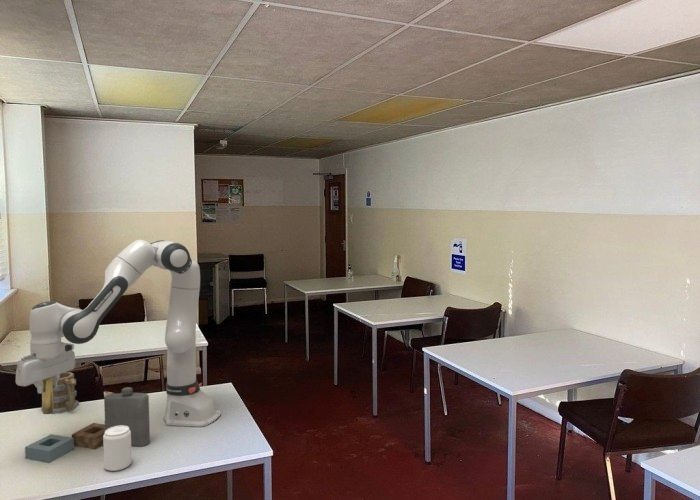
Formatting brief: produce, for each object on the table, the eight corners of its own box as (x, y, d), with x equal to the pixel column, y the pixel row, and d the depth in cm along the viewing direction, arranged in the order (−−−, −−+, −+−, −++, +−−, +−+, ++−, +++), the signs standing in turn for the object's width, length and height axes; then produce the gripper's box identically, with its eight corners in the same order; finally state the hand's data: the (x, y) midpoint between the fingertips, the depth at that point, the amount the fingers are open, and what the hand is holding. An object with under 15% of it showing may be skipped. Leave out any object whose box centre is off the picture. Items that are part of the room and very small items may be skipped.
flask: (152, 439, 178) (151, 385, 177) (146, 446, 172) (145, 391, 171) (110, 440, 177) (108, 386, 176) (103, 447, 171) (101, 392, 170)
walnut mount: (116, 436, 180) (115, 426, 180) (94, 449, 170) (94, 438, 170) (94, 433, 183) (93, 422, 182) (71, 445, 173) (71, 434, 173)
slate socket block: (74, 449, 170) (73, 437, 170) (49, 462, 161) (48, 451, 160) (51, 445, 173) (51, 434, 173) (25, 458, 164) (25, 446, 163)
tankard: (38, 408, 206) (36, 373, 205) (70, 400, 215) (69, 366, 214) (56, 421, 193) (54, 384, 192) (90, 411, 203) (88, 376, 202)
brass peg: (55, 411, 167) (54, 376, 166) (47, 414, 164) (46, 379, 163) (48, 409, 168) (47, 375, 167) (40, 413, 165) (39, 378, 164)
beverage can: (99, 467, 158) (97, 431, 157) (122, 457, 165) (121, 422, 164) (113, 475, 153) (112, 437, 153) (136, 464, 160) (135, 428, 159)
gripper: (24, 359, 154) (26, 402, 154) (78, 343, 173) (79, 381, 174) (9, 357, 155) (11, 400, 156) (63, 342, 175) (65, 380, 176)
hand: (47, 390), depth 165 cm, fingers closed on brass peg, 3 cm apart
